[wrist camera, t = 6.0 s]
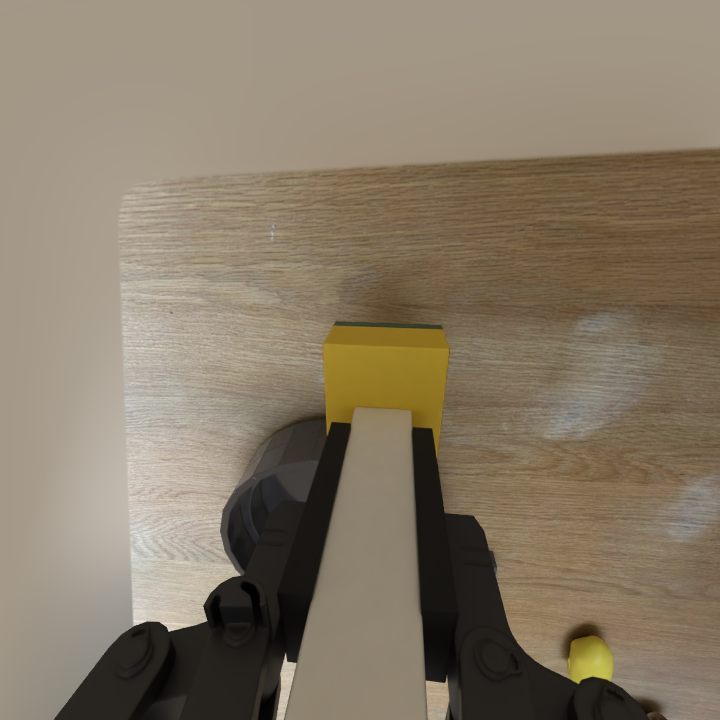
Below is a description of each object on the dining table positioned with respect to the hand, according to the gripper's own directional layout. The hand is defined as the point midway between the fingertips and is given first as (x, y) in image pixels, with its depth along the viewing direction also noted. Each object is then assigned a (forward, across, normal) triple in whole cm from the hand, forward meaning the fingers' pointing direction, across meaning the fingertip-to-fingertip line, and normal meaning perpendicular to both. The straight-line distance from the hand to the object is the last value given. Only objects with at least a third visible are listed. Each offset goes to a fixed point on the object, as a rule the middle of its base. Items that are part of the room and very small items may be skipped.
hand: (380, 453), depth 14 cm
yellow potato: (+14, +23, -36) cm, 45 cm away
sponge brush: (+5, 0, 0) cm, 5 cm away
